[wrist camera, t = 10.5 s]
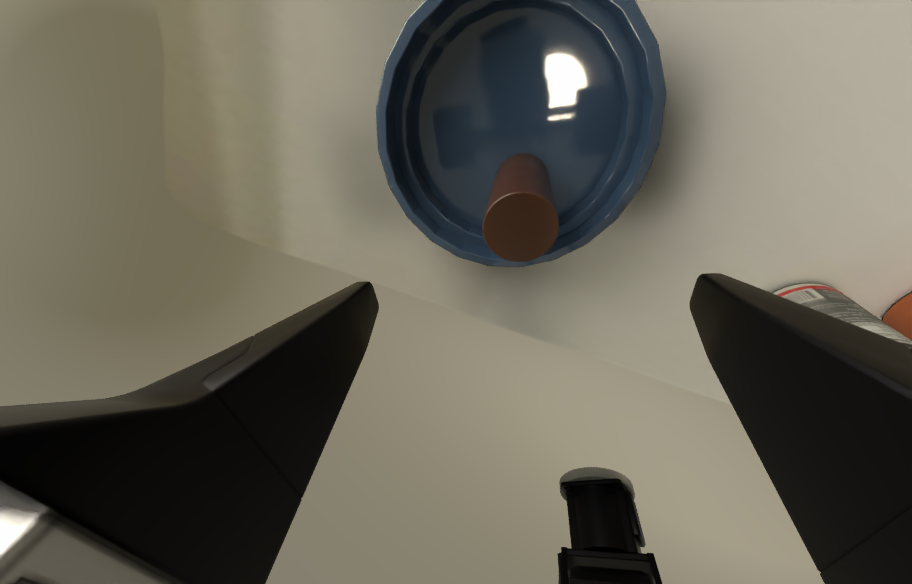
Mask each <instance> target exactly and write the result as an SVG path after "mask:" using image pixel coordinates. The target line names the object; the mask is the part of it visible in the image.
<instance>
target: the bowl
mask: <svg viewBox="0 0 912 584" xmlns="http://www.w3.org/2000/svg"><path fill="white" fill-rule="evenodd" d="M665 101H666V87H665V81H664V75H663V69H662V63H661V57H660V51H659V45H658V44H657V40H656V38H655V36H654V34H653V33H652V31H651V29H650V27H649V25H648V23H647V22H646V20H645V18H644V16H643V14H642V12H641V11H640V9H639V7H638V5H637V3H636V1H635V0H425V1H424V2H423V3H422V4H421V5H420V6H419V7H418V8H417V9H416V10H415V11H414V12H413V13H412V14H411V16H410V17H409V18H408V20H406V22H405V24H404V26H403V28H402V30H401V32H400V34H399V36H398V38H397V40H396V42H395V44H394V47H393V49H392V51H391V53H390V55H389V57H388V59H387V61H386V64H385V66H384V71H383V76H382V81H381V86H380V91H379V96H378V101H377V106H376V119H377V139H378V150H379V155H380V158H381V161H382V165H383V168H384V171H385V174H386V178H387V181H388V184H389V186H390V189H391V191H392V192H393V194H394V196H395V197H396V199H397V201H398V202H399V204H400V206H401V207H402V209H403V211H404V212H405V214H406V216H407V217H408V218H409V219H410V220H411V221H412V222H413V223H414V224H415V225H416V226H417V227H418V228H419V229H420V230H421V231H422V232H423V233H424V234H425V235H426V236H427V237H428V238H429V239H430V240H431V241H432V242H434V243H436V244H437V245H439V246H441V247H442V248H444V249H446V250H447V251H449V252H451V253H452V254H454V255H456V256H458V257H460V258H463V259H467V260H470V261H473V262H477V263H480V264H484V265H487V266H488V265H489V266H505V267H520V266H521V267H523V266H528V265H533V264H538V263H542V262H547V261H552V260H555V259H557V258H559V257H561V256H563V255H565V254H567V253H570V252H572V251H574V250H576V249H578V248H580V247H582V246H584V245H586V244H587V243H589V242H590V241H591V240H592V239H593V238H595V237H596V236H597V235H598V234H600V233H601V232H602V231H603V230H604V229H606V228H607V227H608V226H609V225H611V224H612V223H613V222H614V221H615V220H616V219H617V218H618V217H619V216H620V214H621V213H622V212H623V210H624V209H625V208H626V206H627V205H628V204H629V202H630V201H631V200H632V198H633V197H634V196H635V194H636V193H637V192H638V190H639V189H640V188H641V185H642V184H643V182H644V180H645V177H646V175H647V173H648V170H649V168H650V165H651V163H652V161H653V158H654V156H655V154H656V151H657V149H658V146H659V143H660V139H661V131H662V124H663V116H664V109H665ZM520 153H527V154H531V155H534V156H536V157H537V158H539V159H540V160H541V161H542V162H543V163H544V165H545V167H546V169H547V172H548V177H549V181H550V185H551V189H552V194H553V198H554V202H555V206H556V211H557V215H558V219H559V231H558V235H557V238H556V240H555V242H554V244H553V245H552V247H551V248H550V249H549V250H548V251H547V252H546V253H544V254H543V255H542V256H540V257H538V258H536V259H534V260H531V261H526V262H512V261H508V260H505V259H503V258H501V257H499V256H497V255H496V254H495V253H493V252H492V251H491V250H490V248H489V247H488V245H487V244H486V242H485V240H484V236H483V231H482V224H483V219H484V215H485V212H486V208H487V204H488V201H489V197H490V193H491V190H492V186H493V182H494V179H495V175H496V172H497V170H498V168H499V166H500V165H501V164H502V162H503V161H504V160H506V159H507V158H508V157H510V156H512V155H515V154H520Z"/></svg>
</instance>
